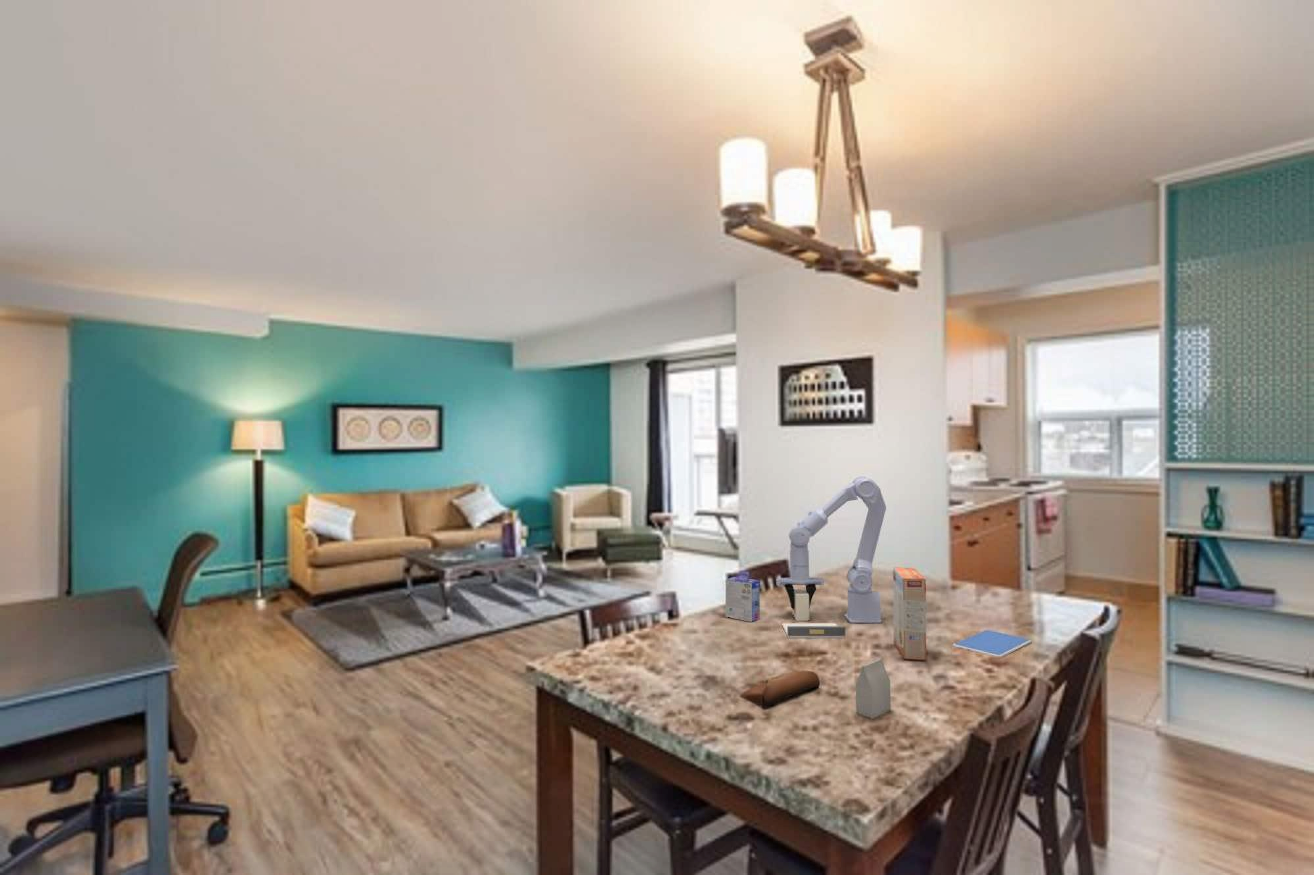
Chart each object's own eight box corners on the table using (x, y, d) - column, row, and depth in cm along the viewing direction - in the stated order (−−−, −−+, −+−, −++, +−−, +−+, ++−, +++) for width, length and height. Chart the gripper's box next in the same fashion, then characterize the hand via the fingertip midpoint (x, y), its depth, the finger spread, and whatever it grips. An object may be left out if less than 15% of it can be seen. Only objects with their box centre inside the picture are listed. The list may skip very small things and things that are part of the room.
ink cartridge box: (761, 618, 195) (760, 572, 195) (752, 622, 191) (751, 575, 191) (733, 613, 201) (733, 568, 201) (725, 617, 196) (724, 572, 197)
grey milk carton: (890, 709, 128) (889, 661, 128) (872, 718, 124) (871, 669, 124) (874, 703, 131) (874, 656, 131) (856, 712, 127) (855, 664, 127)
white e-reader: (835, 625, 186) (835, 615, 186) (845, 638, 174) (845, 627, 174) (781, 625, 187) (781, 615, 187) (788, 638, 175) (788, 627, 175)
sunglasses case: (791, 676, 147) (802, 655, 144) (812, 699, 142) (823, 679, 139) (737, 696, 136) (747, 674, 133) (757, 722, 131) (768, 700, 128)
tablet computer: (1000, 660, 157) (1000, 655, 157) (951, 648, 167) (951, 643, 167) (1033, 644, 168) (1032, 639, 168) (985, 633, 178) (985, 628, 178)
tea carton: (805, 614, 198) (804, 589, 198) (809, 620, 191) (808, 594, 191) (792, 614, 198) (791, 589, 198) (795, 620, 191) (795, 594, 191)
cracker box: (928, 661, 155) (926, 578, 155) (902, 660, 156) (901, 577, 156) (916, 643, 169) (915, 566, 169) (893, 642, 170) (891, 566, 170)
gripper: (820, 562, 198) (820, 604, 198) (774, 562, 199) (775, 604, 199) (824, 566, 191) (825, 610, 191) (777, 567, 192) (778, 610, 192)
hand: (800, 608), depth 195 cm, fingers closed on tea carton, 4 cm apart
